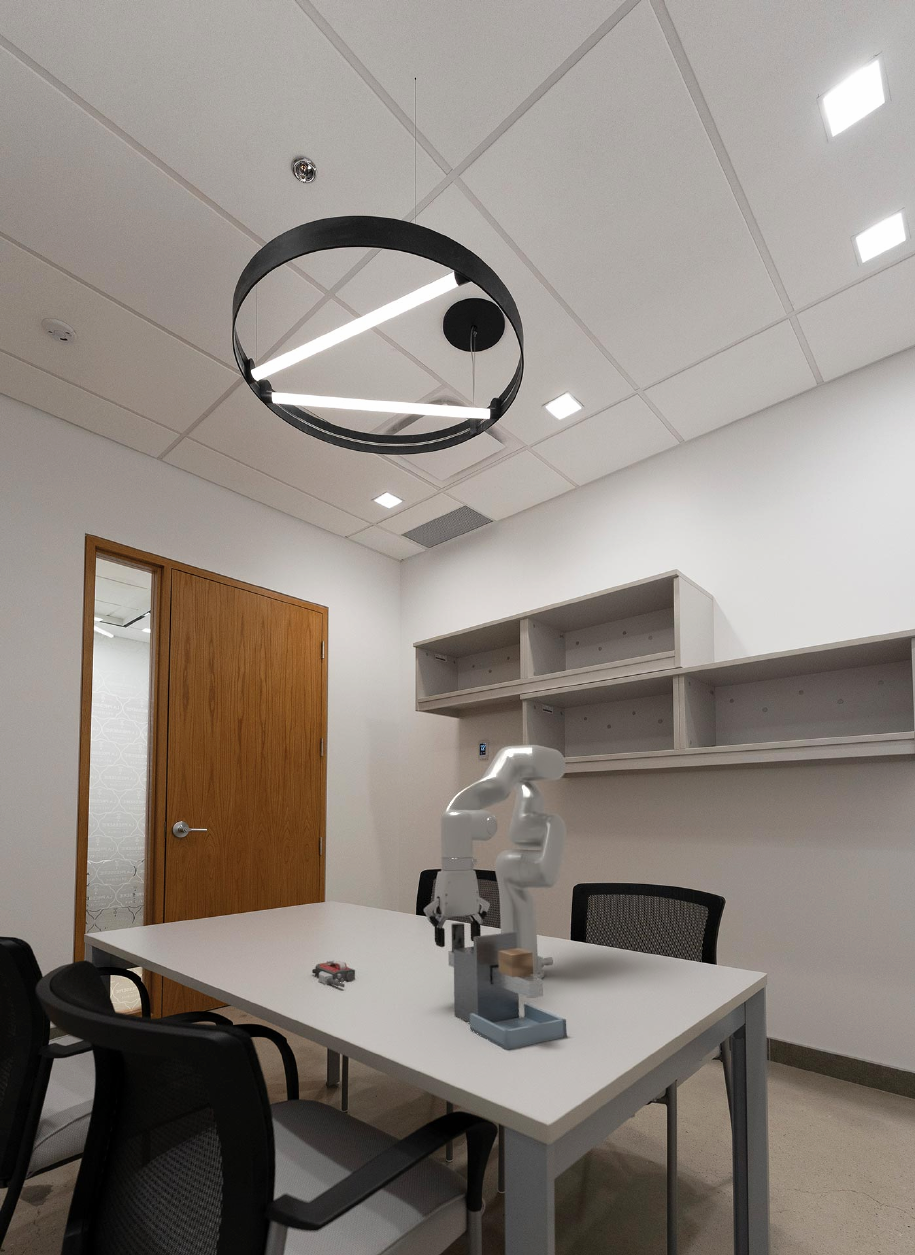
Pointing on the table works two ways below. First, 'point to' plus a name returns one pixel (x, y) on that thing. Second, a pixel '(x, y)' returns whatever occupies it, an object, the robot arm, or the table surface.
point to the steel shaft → (520, 984)
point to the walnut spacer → (515, 962)
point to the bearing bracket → (483, 980)
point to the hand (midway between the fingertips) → (458, 943)
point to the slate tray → (521, 1028)
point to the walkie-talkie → (334, 973)
